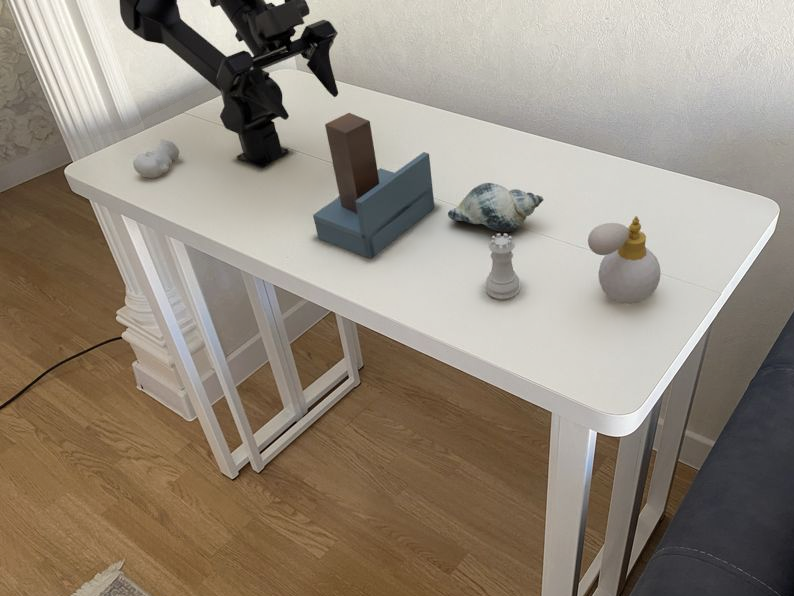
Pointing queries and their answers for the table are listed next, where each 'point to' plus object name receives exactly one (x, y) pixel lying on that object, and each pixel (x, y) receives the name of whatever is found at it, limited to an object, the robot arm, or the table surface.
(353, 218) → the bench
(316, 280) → the table surface
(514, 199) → the seashell
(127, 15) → the robot arm
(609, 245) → the perfume bottle
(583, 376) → the table surface
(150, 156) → the smooth white sculpture
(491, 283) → the rook chess piece
